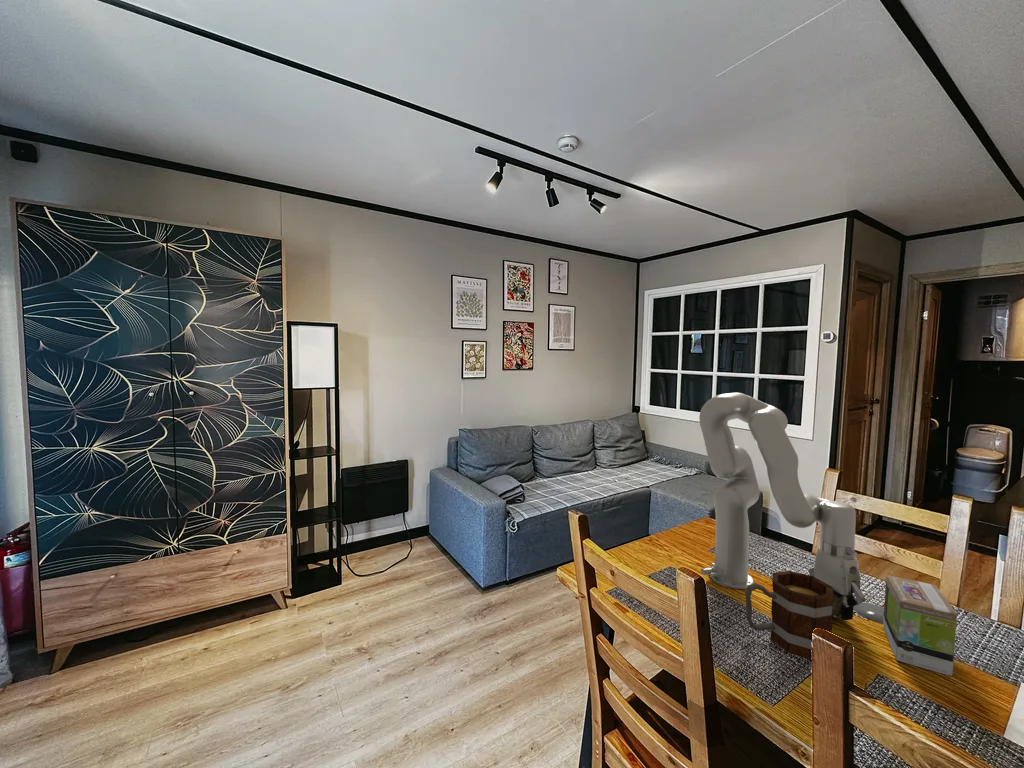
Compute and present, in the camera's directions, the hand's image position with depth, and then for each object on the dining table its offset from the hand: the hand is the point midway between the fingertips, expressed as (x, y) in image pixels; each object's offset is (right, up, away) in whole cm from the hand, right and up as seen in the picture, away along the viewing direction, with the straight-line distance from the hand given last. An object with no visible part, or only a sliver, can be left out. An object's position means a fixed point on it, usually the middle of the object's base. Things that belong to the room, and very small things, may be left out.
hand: (834, 610), depth 117 cm
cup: (0, -2, 0) cm, 2 cm away
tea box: (+10, -3, -13) cm, 17 cm away
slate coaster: (+13, -2, +2) cm, 13 cm away
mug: (-20, -3, -10) cm, 22 cm away
